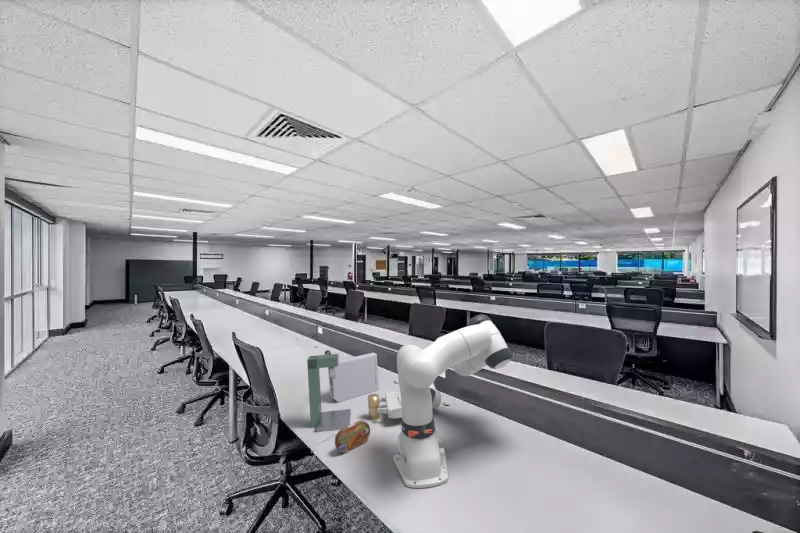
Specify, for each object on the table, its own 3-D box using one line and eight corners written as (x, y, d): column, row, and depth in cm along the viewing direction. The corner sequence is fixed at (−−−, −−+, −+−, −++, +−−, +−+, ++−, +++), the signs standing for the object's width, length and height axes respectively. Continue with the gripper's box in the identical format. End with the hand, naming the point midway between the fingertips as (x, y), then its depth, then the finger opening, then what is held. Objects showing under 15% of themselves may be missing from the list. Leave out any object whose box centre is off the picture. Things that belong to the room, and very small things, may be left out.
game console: (380, 389, 174) (378, 354, 174) (334, 404, 159) (332, 365, 159) (375, 386, 179) (373, 352, 179) (330, 400, 163) (328, 362, 163)
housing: (380, 419, 140) (378, 397, 140) (369, 420, 139) (367, 398, 139) (379, 414, 145) (378, 393, 145) (368, 415, 144) (367, 394, 144)
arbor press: (349, 428, 134) (345, 359, 134) (309, 432, 132) (305, 362, 132) (351, 406, 155) (348, 346, 154) (316, 410, 153) (313, 349, 152)
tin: (338, 457, 114) (337, 434, 114) (334, 453, 116) (332, 431, 116) (371, 440, 124) (370, 419, 124) (366, 437, 126) (365, 416, 126)
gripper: (402, 386, 154) (375, 389, 152) (408, 405, 134) (376, 408, 132) (403, 399, 154) (375, 402, 153) (409, 419, 134) (377, 423, 132)
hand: (376, 405), depth 142 cm, fingers open, 8 cm apart
